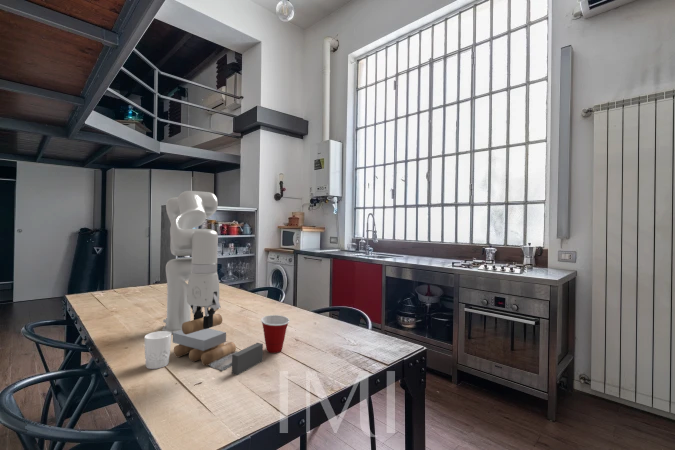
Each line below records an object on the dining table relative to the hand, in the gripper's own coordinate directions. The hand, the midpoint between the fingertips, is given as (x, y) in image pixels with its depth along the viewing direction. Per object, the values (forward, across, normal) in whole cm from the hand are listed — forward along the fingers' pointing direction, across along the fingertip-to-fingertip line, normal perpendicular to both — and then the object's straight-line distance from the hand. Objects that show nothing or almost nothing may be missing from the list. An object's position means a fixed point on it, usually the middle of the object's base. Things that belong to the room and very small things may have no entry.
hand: (203, 326), depth 102 cm
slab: (+11, -14, +10) cm, 21 cm away
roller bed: (+15, -11, +11) cm, 22 cm away
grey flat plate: (+15, +1, +11) cm, 18 cm away
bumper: (+15, +9, +11) cm, 21 cm away
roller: (-1, -2, 0) cm, 2 cm away
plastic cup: (+15, +8, +27) cm, 32 cm away
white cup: (+15, -18, -3) cm, 24 cm away
